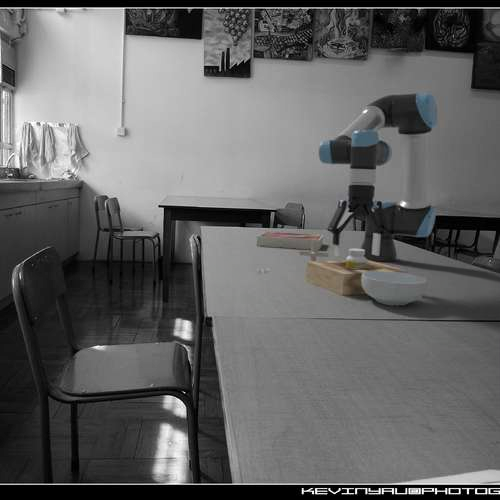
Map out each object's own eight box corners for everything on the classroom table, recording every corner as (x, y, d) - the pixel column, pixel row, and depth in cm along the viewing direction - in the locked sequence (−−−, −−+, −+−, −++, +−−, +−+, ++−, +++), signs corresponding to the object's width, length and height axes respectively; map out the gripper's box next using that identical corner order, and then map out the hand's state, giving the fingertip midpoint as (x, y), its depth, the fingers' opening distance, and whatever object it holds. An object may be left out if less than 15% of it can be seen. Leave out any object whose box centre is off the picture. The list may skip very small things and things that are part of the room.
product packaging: (265, 241, 255) (265, 231, 255) (322, 245, 249) (323, 235, 249) (256, 247, 234) (257, 236, 234) (318, 251, 228) (319, 240, 228)
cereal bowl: (415, 314, 125) (417, 285, 124) (350, 303, 134) (352, 276, 133) (431, 301, 140) (434, 275, 139) (372, 292, 148) (373, 267, 147)
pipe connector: (326, 271, 178) (328, 242, 177) (297, 268, 180) (299, 240, 179) (327, 266, 188) (329, 239, 186) (300, 264, 190) (302, 237, 188)
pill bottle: (342, 283, 159) (344, 247, 157) (361, 283, 159) (364, 248, 157) (347, 287, 152) (349, 250, 151) (367, 288, 153) (370, 251, 151)
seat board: (365, 277, 169) (366, 259, 168) (405, 291, 151) (407, 270, 150) (306, 280, 160) (307, 261, 159) (342, 295, 142) (343, 273, 141)
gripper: (388, 184, 160) (382, 252, 163) (318, 182, 150) (314, 254, 153) (404, 185, 153) (398, 256, 156) (332, 183, 143) (327, 258, 146)
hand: (356, 255), depth 154 cm, fingers open, 13 cm apart
